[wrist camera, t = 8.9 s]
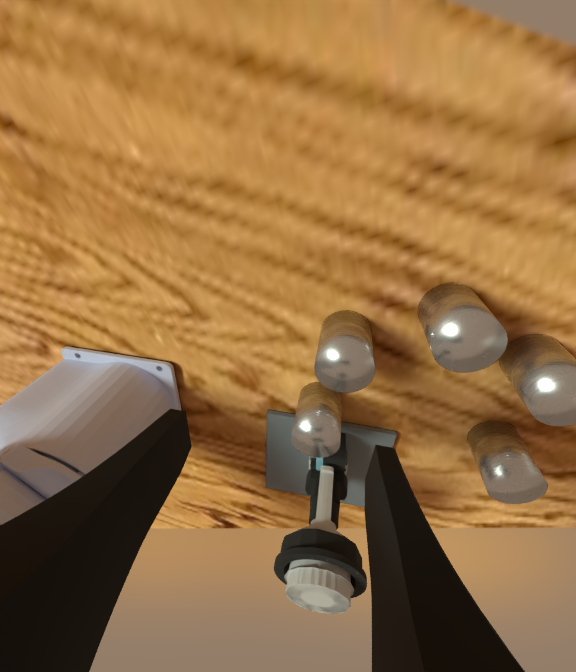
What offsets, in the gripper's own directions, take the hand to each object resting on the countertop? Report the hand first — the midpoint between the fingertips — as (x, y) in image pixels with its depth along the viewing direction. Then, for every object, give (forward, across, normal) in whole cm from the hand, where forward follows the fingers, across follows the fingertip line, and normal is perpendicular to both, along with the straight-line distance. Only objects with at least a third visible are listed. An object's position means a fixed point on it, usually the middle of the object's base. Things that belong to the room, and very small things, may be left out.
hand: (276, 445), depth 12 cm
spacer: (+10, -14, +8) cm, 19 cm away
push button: (+10, -3, +12) cm, 16 cm away
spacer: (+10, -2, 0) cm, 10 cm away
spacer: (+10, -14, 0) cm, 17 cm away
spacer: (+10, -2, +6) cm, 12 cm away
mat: (+10, -2, +14) cm, 17 cm away
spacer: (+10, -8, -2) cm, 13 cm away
